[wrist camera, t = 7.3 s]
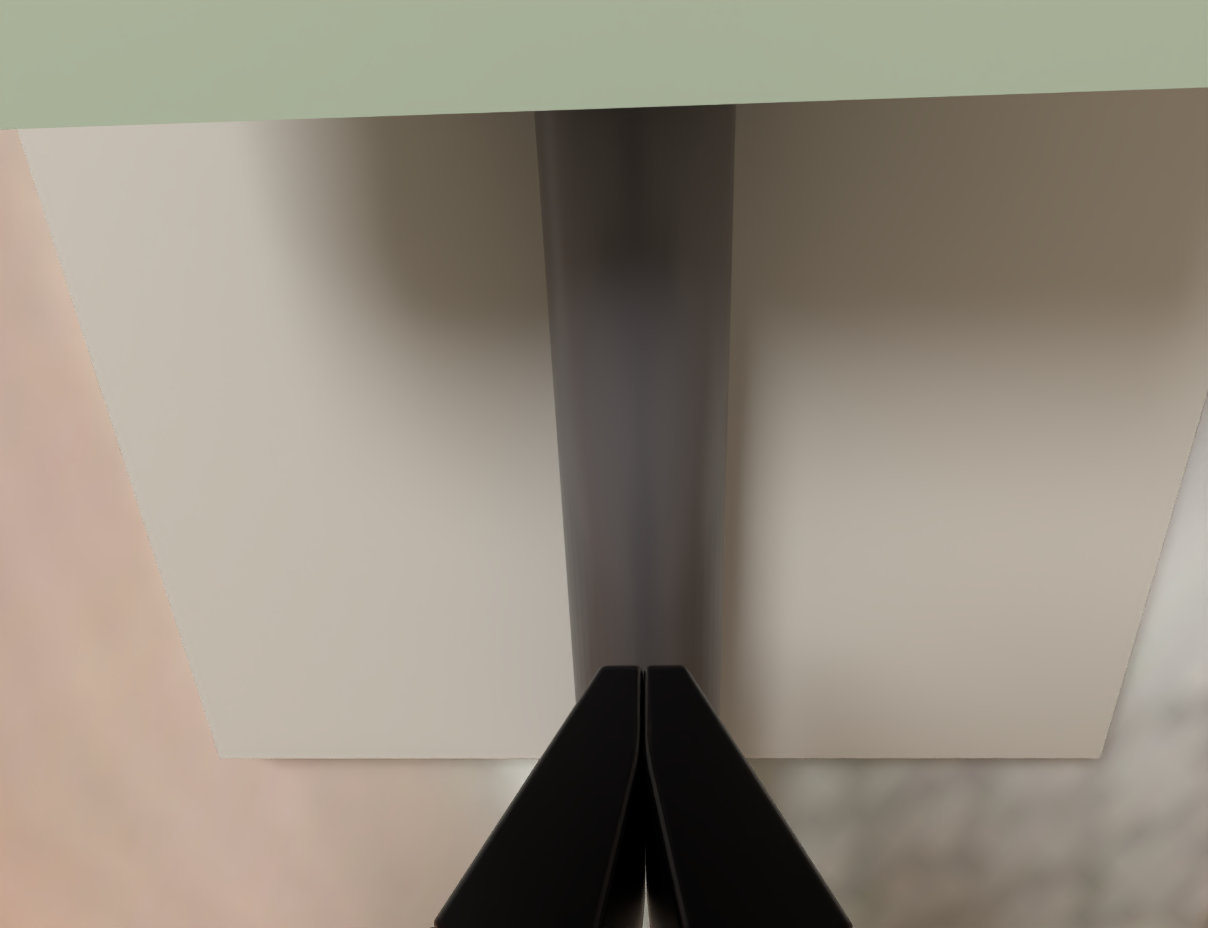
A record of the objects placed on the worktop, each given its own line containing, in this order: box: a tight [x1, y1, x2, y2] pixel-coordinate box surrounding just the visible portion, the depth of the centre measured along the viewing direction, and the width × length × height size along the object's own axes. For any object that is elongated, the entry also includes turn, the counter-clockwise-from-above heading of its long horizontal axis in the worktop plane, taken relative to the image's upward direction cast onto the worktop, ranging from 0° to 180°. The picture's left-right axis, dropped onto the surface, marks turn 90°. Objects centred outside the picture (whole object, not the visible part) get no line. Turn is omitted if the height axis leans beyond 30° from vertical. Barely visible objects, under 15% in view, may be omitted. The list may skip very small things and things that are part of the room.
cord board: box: [17, 87, 1208, 865], centre depth 9 cm, size 20×14×6 cm
